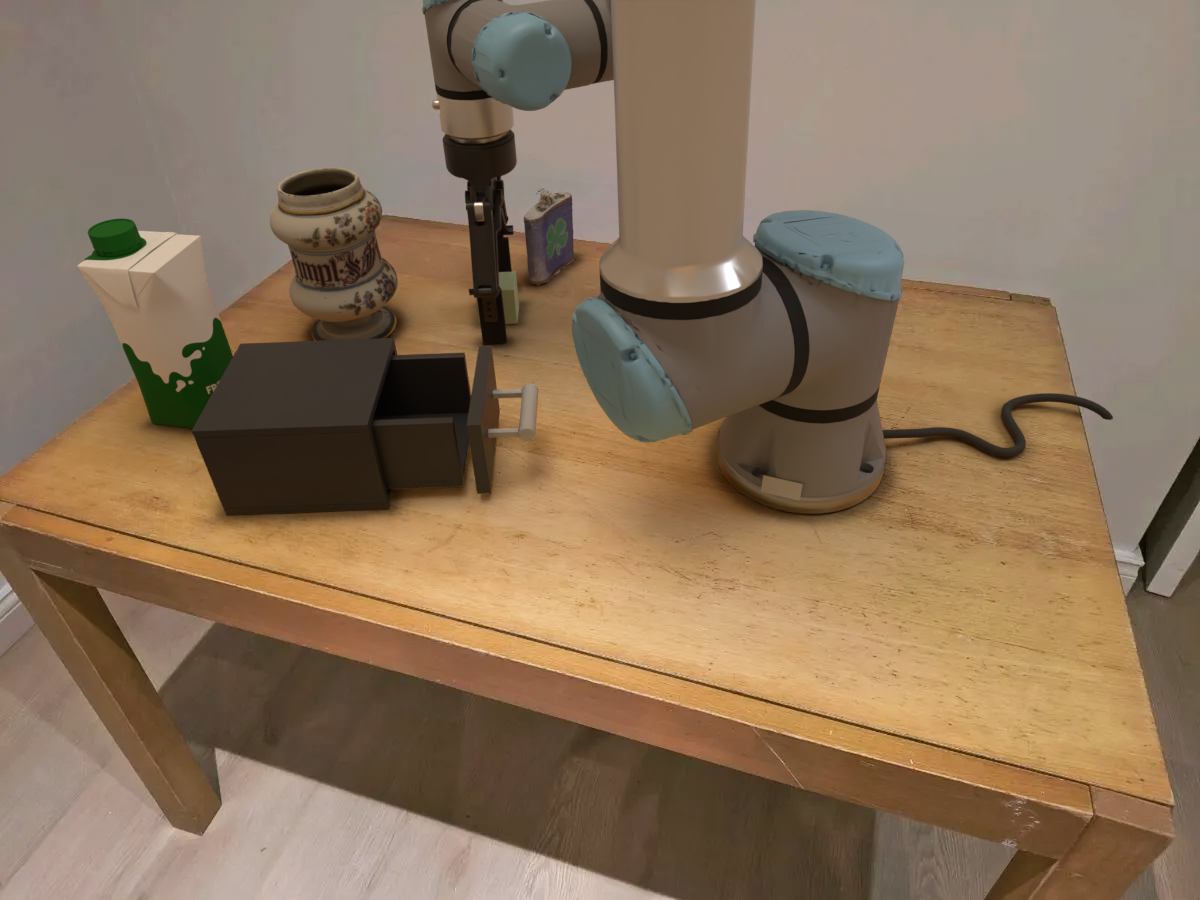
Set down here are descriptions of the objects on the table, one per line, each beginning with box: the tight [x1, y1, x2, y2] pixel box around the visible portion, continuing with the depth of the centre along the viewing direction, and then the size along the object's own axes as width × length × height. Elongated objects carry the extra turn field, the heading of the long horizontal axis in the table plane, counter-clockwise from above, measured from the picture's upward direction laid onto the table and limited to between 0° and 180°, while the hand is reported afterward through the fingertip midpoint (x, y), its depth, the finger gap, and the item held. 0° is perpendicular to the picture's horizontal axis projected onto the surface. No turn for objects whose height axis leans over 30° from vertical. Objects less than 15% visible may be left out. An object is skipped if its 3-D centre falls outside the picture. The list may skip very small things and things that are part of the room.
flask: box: [523, 187, 575, 287], centre depth 109 cm, size 9×3×11 cm, turn 150°
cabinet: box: [191, 337, 398, 516], centre depth 80 cm, size 15×14×10 cm
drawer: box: [371, 345, 539, 495], centre depth 80 cm, size 18×12×8 cm
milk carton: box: [76, 218, 234, 429], centre depth 85 cm, size 9×9×20 cm
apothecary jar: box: [269, 166, 399, 341], centre depth 97 cm, size 12×12×18 cm
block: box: [475, 271, 520, 326], centre depth 103 cm, size 4×4×4 cm
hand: (498, 313), depth 104 cm, fingers open, 12 cm apart
